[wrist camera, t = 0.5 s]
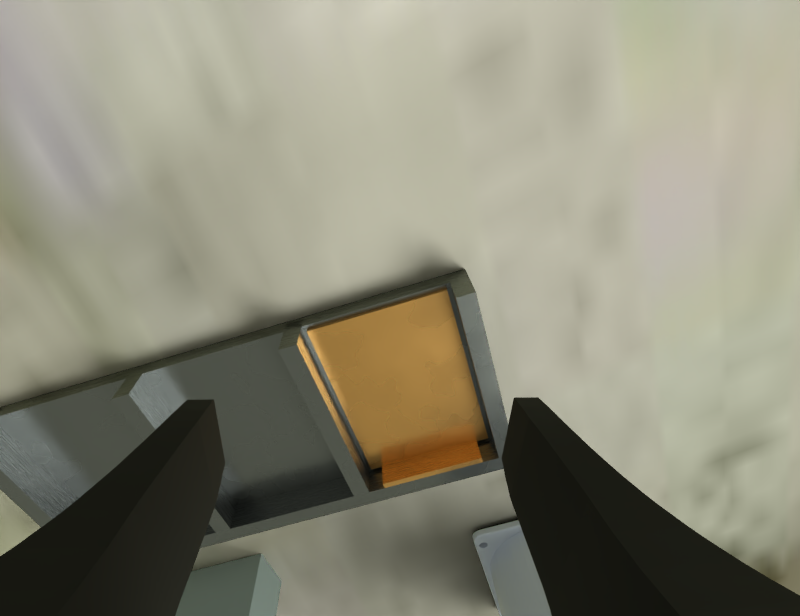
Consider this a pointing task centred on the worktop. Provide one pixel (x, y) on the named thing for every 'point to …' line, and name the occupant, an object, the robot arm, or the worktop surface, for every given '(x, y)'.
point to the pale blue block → (232, 589)
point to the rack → (288, 413)
